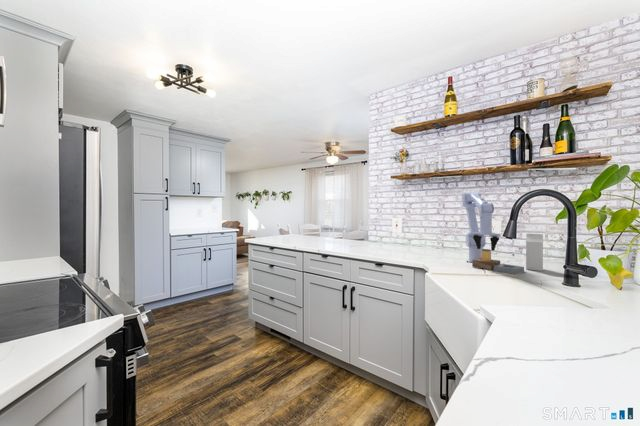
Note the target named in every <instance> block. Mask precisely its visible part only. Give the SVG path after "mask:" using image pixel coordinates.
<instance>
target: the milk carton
mask: <svg viewBox="0 0 640 426" xmlns="http://www.w3.org/2000/svg"><path fill="white" fill-rule="evenodd" d="M525 235H526V238H525V239H526V240H525V243H526V244H525V245H526V246H525V270H531V271H538V272H540V271H542V272H543V271H544V234H543V233H526V234H525Z"/></svg>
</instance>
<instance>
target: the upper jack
mask: <svg viewBox="0 0 640 426" xmlns="http://www.w3.org/2000/svg"><path fill="white" fill-rule="evenodd" d="M471 263H472V266H473V267H472V268H475V267H478V268H477V269H481V268H483V269H482V270H489V271H494V266H495V265H500V264H501V260H499V259H498V260H497V259H492V258H491V261H482V258H480V259H474V260H472V262H471Z"/></svg>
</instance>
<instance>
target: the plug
mask: <svg viewBox="0 0 640 426" xmlns="http://www.w3.org/2000/svg"><path fill="white" fill-rule="evenodd" d="M491 259H492V250H491V248H490V249H489V248H483V249H482V261H491Z"/></svg>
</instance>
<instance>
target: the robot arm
mask: <svg viewBox="0 0 640 426" xmlns="http://www.w3.org/2000/svg"><path fill="white" fill-rule="evenodd" d="M461 203H462V207H464V208H465V210H466V215H467V222H468V223H467V224H468V228H469V229H468V230H469V232H467V234H466V235H465V246H467V248H468V260H466V261H468V263H472V260H474V259H480V258H482V249H484V247H486V243H487V242H486V241H487V239H486V237H488V238H489V240H490V251H491V252H492V251H493V252H494V251H495V250H496V246H497V245H498V242H499V240H500V238H501V237H502V235H501V233H495V232H493V221H492V220H493V213H494V211H495V206H494V203H492V202H488V201H487V200H486V199H485V198H484V197H482V193H480V191H477V192H475V191H474V192H473V191H472V192H470V191H469V192H468V191H467V192H466V191H464V192H463V193H462V195H461ZM476 208H477V210H478V217H479V226H478V221H477V214H476Z"/></svg>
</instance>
